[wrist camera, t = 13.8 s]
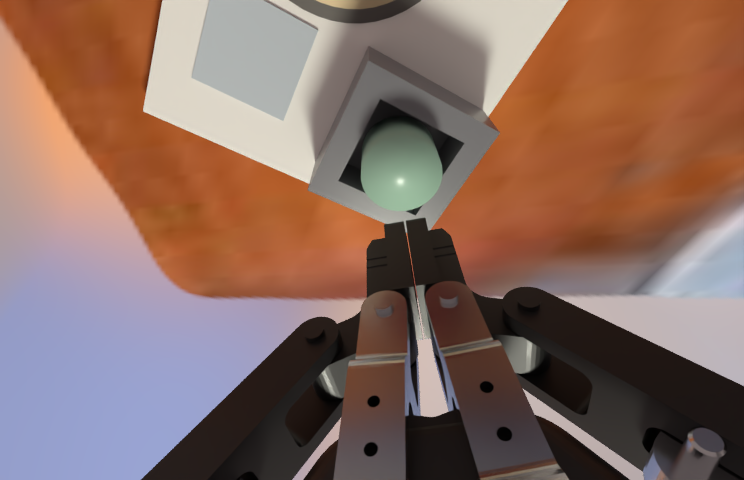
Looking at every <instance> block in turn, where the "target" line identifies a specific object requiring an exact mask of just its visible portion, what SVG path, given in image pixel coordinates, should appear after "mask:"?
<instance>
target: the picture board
mask: <svg viewBox="0 0 744 480" xmlns="http://www.w3.org/2000/svg"><path fill="white" fill-rule="evenodd" d="M567 1H568V0H162V6H161V11H160V17H159V23H158V29H157V34H156V40H155V46H154V51H153V57H152V63H151V69H150V74H149V80H148V86H147V91H146V97H145V103H144V109H143V111H144V112H146V113H148V114H150V115H153V116H155V117H157V118H160V119H162V120H164V121H166V122H169V123H171V124H173V125H176V126H178V127H180V128H183V129H185V130H187V131H189V132H192V133H194V134H196V135H199V136H201V137H203V138H205V139H208V140H210V141H212V142H215V143H217V144H219V145H222V146H224V147H226V148H228V149H231V150H233V151H235V152H238V153H240V154H242V155H244V156H247V157H249V158H251V159H254V160H256V161H258V162H261V163H263V164H265V165H267V166H270V167H272V168H274V169H277V170H279V171H281V172H283V173H286V174H288V175H290V176H293V177H295V178H297V179H300V180H302V181H304V182H306V183H310V179H311V176H312V172H313V168H314V164H315V161H316V159H317V157H318V155H319V152H320V150H321V148H322V146H323V144H324V142H325V139H326V137H327V135H328V133H329V131H330V129H331V126H332V124H333V122H334V120H335V118H336V115H337V113H338V111H339V109H340V107H341V105H342V102H343V100H344V98H345V96H346V94H347V92H348V89H349V87H350V85H351V83H352V81H353V79H354V76H355V74H356V72H357V70H358V68H359V66H360V63H361V61H362V59H363V57H364V55H365V52H366V50H367V48H368V46H370V47H372V48H373V49H375V50H377V51H379V52H381V53H382V54H384V55H386V56H388V57H390V58H391V59H393V60H395V61H397V62H398V63H400V64H402V65H404V66H406V67H407V68H409V69H411V70H413V71H414V72H416V73H418V74H420V75H422V76H423V77H425V78H427V79H429V80H431V81H432V82H434V83H436V84H438V85H439V86H441V87H443V88H445V89H447V90H448V91H450V92H452V93H454V94H456V95H457V96H459V97H461V98H463V99H464V100H466V101H468V102H470V103H472V104H473V105H475V106H477V107H479V108H480V109H482V110H483V111H484V112H485V113H486V115H487V116H489V115H490V113H491V112H492V111H493V109H494V108H495V106H496V105H497V103H498V102H499V100H500V99H501V97H502V96H503V94H504V93H505V92H506V90H507V89H508V87H509V86H510V84H511V83H512V81H513V80H514V78H515V77H516V75H517V74H518V73H519V71H520V70H521V68H522V67H523V65H524V64H525V62H526V61H527V59H528V58H529V56H530V55H531V54H532V52H533V51H534V49H535V48H536V46H537V45H538V43H539V42H540V40H541V39H542V38H543V36H544V35H545V33H546V32H547V30H548V29H549V27H550V26H551V24H552V23H553V21H554V20H555V19H556V17H557V16H558V14H559V13H560V11H561V10H562V8H563V7H564V5H565V4H566V2H567Z"/></svg>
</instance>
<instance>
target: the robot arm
mask: <svg viewBox="0 0 744 480" xmlns="http://www.w3.org/2000/svg"><path fill="white" fill-rule="evenodd" d="M406 227H407V233H408V240H409V246H410V252H411V258H412V265H413V271H414V277H415V284H416V290H417V295H418V301H419V306H420V313H421V318H422V324H423V329H424V336H425V339H429V338H431V340H432V346H433V352H434V358H435V363H436V366H437V370H438V373H439V377H440V381H441V385H442V388H443V392H444V395H445V399H446V403H447V407H448V411H449V412H447V413H444V414H442V415H440V416H436V417H424V416H421V414H420V391H419V370H418V369H419V368H418V358H417V357H418V347H417V340H422V339H423V337H422V330H421V323H420V317H419V310H418V304H417V297H416V291H415V284H414V278H413V272H412V265H411V259H410V254H409V248H408V242H407V236H406V231H405V225H404V221H401V222H395V223H389V224H384V229H385V238H382V239H376V240H372V241H371V243H370V245H369V246H368V248H367V299H366V300H365V301H364V302H363V304H362V307H361V311H360V312H359V313H358V314H357V315H355V316H354V317H352V318H350V319H348V320H345V321H343V322H341V323H338V324H336V322H335V321H334V320H332V319H330V318H328V317H316V318H312V319H309V320H307V321H306V322H304V323H302V324H301V325H300V326H299V327H298V328H297V329H296V330H295V331H294V332H293V333H292V334H291V335H290V336H289V337H288V338H286V340H284V341H283V342H282V343H281V344H280V345H279V346H278V347H277V348H276V349H275V350H274V351H273V352H272V353H271V354H270V355H269V356H268V357H267V358H266V359H265V360H264V361H263V362H262V363H261V364H260V365H259V366H258V367H257V368H256V369H255V370H254V371H253V372H251V374H249V375H248V376H247V377H246V379H244V380H243V381H242V382H241V383H240V384H239V385H238V386H237V387H236V388H235V389H234V390H233V391H232V392H231V393H230V394H229V395H228V396H227V397H226V398H225V399H224V400H223V401H222V402H221V403H220V404H219V405H218V406H217V407H216V408H215V409H213V410H212V411H211V412H210V413H209V414H208V415H207V416H206V417H205V418H204V419H203V420H202V421H201V422H200V423H199V424H198V425H197V426H196V427H195V428H194V429H193V430H192V431H191V432H190V433H189V434H188V435H187V436H186V437H185V438H184V439H182V441H180V442H179V444H177V445H176V446H175V447H174V449H172V450H171V451H170V452H169V453H168V454H167V455H166V456H165V457H164V458H163V459H162V460H161V461H160V462H159V463H158V464H157V465H156V466H155V467H154V468H153V469H152V470H151V471H150V472H148V474H146V475H145V476H144V477H143V478H142V479H141V480H292V479H293V478H294V476H295V475H296V474H297V473H298V471H299V470H300V469H301V467H302V466H303V465H304V464H305V462H306V461H307V460H308V458H309V457H310V456H311V455H312V453H313V452H314V451H315V450H316V448H317V447H318V446H319V444H320V443H321V442H322V441H323V439H324V438H325V437H326V435H327V434H328V433H329V432H330V430H331V429H332V428H333V427H334V425H335V424H336V423H337V422H338V420H339V419H340V418H341V425H340V432H339V439H338V440H337V441H335V442H334V443H333V444H332V445H331V446H330V447H329V448H328V449H327V450H326V451H325V452H324V453H323V454H322V455H321V456H320V458H319V459H318V460H317V462H316V463H315V465H314V466H313V467H312V469H311V470H310V471H309V473H308V474H307V476H306V477H305V478H304V480H629V479H628V478H627V477H625V476H624V475H623V474H621V473H620V472H619V471H618V470H616V469H615V468H614V467H612V466H611V465H610V464H608V463H607V462H606V461H604V460H603V459H602V458H600V457H599V456H598V455H596V454H595V453H594V452H593V451H591V450H590V449H589V448H587V447H586V446H585V445H583V444H582V443H581V442H579V441H578V440H577V439H576V438H574V437H573V436H572V435H570V434H569V433H567V432H566V431H565V430H563V429H562V428H560V427H559V426H557V425H555V424H554V423H552V422H550V421H548V420H546V419H544V418H542V417H539V416H536V415H534V413H533V410H532V408H531V406H530V404H529V402H528V400H527V397H526V396H525V393H524V391H523V389H524V390H526V391H528V392H529V393H530V394H532V395H533V396H535V397H536V398H537V399H539V400H540V401H542V402H543V403H545V404H546V405H548V406H549V407H551V408H552V409H553V410H555V411H556V412H558V413H559V414H561V415H562V416H563V417H565V418H566V419H568V420H569V421H571V422H572V423H574V424H575V425H576V426H578V427H579V428H581V429H582V430H584V431H585V432H587V433H588V434H589V435H591V436H592V437H594V438H595V439H596V440H598V441H599V442H601V443H602V444H604V445H605V446H607V447H608V448H609V449H611V450H612V451H614V452H615V453H617V454H618V455H620V456H621V457H622V458H624V459H625V460H627V461H628V462H630V463H631V464H632V465H634V466H635V467H637V468H638V469H640V470H641V471H643V476H644V480H744V386H742V385H740V384H738V383H736V382H734V381H732V380H730V379H727V378H725V377H723V376H721V375H719V374H717V373H715V372H713V371H711V370H709V369H706V368H704V367H702V366H700V365H698V364H696V363H694V362H692V361H690V360H688V359H686V358H683V357H681V356H679V355H677V354H675V353H673V352H671V351H669V350H667V349H665V348H663V347H660V346H658V345H656V344H654V343H652V342H650V341H648V340H646V339H643V338H641V337H639V336H637V335H635V334H633V333H631V332H629V331H627V330H625V329H623V328H621V327H618V326H616V325H614V324H612V323H610V322H608V321H606V320H604V319H602V318H600V317H598V316H595V315H593V314H591V313H589V312H587V311H585V310H583V309H581V308H579V307H577V306H575V305H572V304H570V303H568V302H566V301H564V300H562V299H560V298H558V297H556V296H554V295H551V294H549V293H547V292H545V291H543V290H541V289H537V288H533V287H520V288H516V289H513V290H511V291H509V292H508V293H507V294H506V295H505V296H504V298H503V299H497V298H488V297H484V296H480V295H478V294H476V293H474V292H473V291H471V290H470V288H469V287H468V286H467V285H466V283H465V280H464V276H463V273H462V270H461V267H460V264H459V261H458V257H457V255H456V251H455V248H454V245H453V242H452V239H451V236H450V235H449V234H448V233H447V232H446V231H445V230H443V229H442V228H441V229H435V230H429V231H428V227H427V223H426V218H425V217H424V218H418V219H412V220H406ZM522 388H523V389H522Z"/></svg>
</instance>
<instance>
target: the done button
mask: <svg viewBox="0 0 744 480" xmlns="http://www.w3.org/2000/svg"><path fill="white" fill-rule="evenodd" d="M442 174H443V173H442V164H441V161H440V158H439V155H438V152H437V149H436V147H435V144H434V141H433V138H432V136H431V134H430V132H429V131H428V129H427V128H426V127H425V126H424V125H423V124H422V123H420V122H419V121H417V120H415V119H413V118H410V117H405V116H394V117H389V118H386V119H384V120H382V121H380V122H378V123H377V124H375V125H374V126H373V127H372V128H371V129H370V130H369V132H368V133H367V135H366V136H365V139H364V141H363V145H362V157H361V182H362V186H363V189H364V191H365V193H366V194H367V196H368V197H369V198H370V199H371V200H372V201H373V202H374V203H375V204H377V205H378V206H380V207H382V208H385V209H388V210H392V211H407V210H412V209H415V208H418V207H420V206H422V205H423V204H425V203H426V202H428V201H429V200H430V199H431V198H432V197H433V196H434V195H435V193H436V192H437V190H438V189H439V186H440V184H441V180H442Z"/></svg>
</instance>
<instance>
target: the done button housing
mask: <svg viewBox="0 0 744 480" xmlns="http://www.w3.org/2000/svg"><path fill="white" fill-rule="evenodd" d="M394 116H405V117H410V118H413V119H415V120H417V121H419V122H420V123H422V124H423V125H424V126H425V127H426V128H427V129H428V131H429V132H430V134H431V136H432V138H433V141H434V144H435V147H436V149H437V152H438V155H439V158H440V161H441V164H442V173H443V174H442V180H441V184H440V186H439V189H438V190H437V192H436V193H435V195H434V196H433V197H432V198H431V199H430V200H429V201H428V202H426V203H425V204H423V205H422V206H420V207H418V208H415V209H412V210H407V211H392V210H388V209H385V208H382V207H380V206H378V205H377V204H375V203H374V202H373V201H372V200H371V199H370V198H369V197H368V196H367V194H366V193H365V191H364V189H363V186H362V182H361V157H362V145H363V141H364V139H365V136H366V135H367V133H368V132H369V130H370V129H371V128H372V127H373V126H374V125H375V124H377V123H378V122H380V121H382V120H384V119H386V118H389V117H394ZM499 133H500V132H499V131H498V129H497V128H496V127H495V125H494V124H493V123H492V121H491V120H490V119H489V117H488V116H487V115H486V113H485V112H484V111H483V110H482V109H480V108H479V107H477V106H475V105H473V104H472V103H470V102H468V101H466V100H464V99H463V98H461V97H459V96H457V95H456V94H454V93H452V92H450V91H448V90H447V89H445V88H443V87H441V86H439V85H438V84H436V83H434V82H432V81H431V80H429V79H427V78H425V77H423V76H422V75H420V74H418V73H416V72H414V71H413V70H411V69H409V68H407V67H406V66H404V65H402V64H400V63H398V62H397V61H395V60H393V59H391V58H390V57H388V56H386V55H384V54H382V53H381V52H379V51H377V50H375V49H373V48H372V47H370V46H368V48H367V50H366V52H365V55H364V57H363V59H362V61H361V63H360V66H359V68H358V70H357V72H356V74H355V76H354V79H353V81H352V83H351V85H350V87H349V89H348V92H347V94H346V96H345V98H344V100H343V102H342V105H341V107H340V109H339V111H338V113H337V115H336V118H335V120H334V122H333V124H332V126H331V129H330V131H329V133H328V135H327V137H326V139H325V142H324V144H323V146H322V148H321V150H320V152H319V155H318V157H317V159H316V161H315V164H314V168H313V172H312V176H311V179H310V183H309V187H308V191H311V192H313V193H315V194H318V195H320V196H322V197H325V198H327V199H329V200H332V201H334V202H336V203H339V204H341V205H343V206H346V207H348V208H350V209H353V210H355V211H357V212H360V213H362V214H364V215H367V216H369V217H371V218H373V219H376V220H378V221H380V222H383V223H385V224H389V223H395V222H401V221H404V225H405V231H406V233H407V227H406V220H412V219H418V218H424V217H425V218H426V223H427V227H428V231H429V230H431V228H432V227H433V225H434V224H435V223H436V221H437V220H438V218H439V217H440V216H441V214H442V213H443V211H444V210H445V209H446V207H447V206H448V204H449V203H450V202H451V200H452V199H453V198H454V196H455V195H456V193H457V192H458V191H459V189H460V188H461V186H462V185H463V184H464V182H465V181H466V179H467V178H468V177H469V175H470V174H471V172H472V171H473V170H474V168H475V167H476V165H477V164H478V163H479V161H480V160H481V159H482V157H483V156H484V154H485V153H486V152H487V150H488V149H489V147H490V146H491V145H492V143H493V142H494V140H495V139H496V138H497V136H498V135H499Z"/></svg>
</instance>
